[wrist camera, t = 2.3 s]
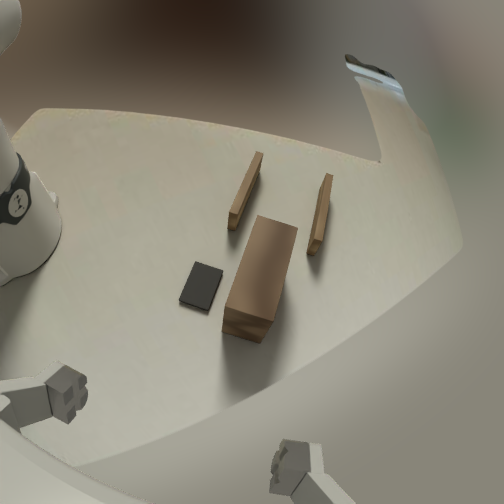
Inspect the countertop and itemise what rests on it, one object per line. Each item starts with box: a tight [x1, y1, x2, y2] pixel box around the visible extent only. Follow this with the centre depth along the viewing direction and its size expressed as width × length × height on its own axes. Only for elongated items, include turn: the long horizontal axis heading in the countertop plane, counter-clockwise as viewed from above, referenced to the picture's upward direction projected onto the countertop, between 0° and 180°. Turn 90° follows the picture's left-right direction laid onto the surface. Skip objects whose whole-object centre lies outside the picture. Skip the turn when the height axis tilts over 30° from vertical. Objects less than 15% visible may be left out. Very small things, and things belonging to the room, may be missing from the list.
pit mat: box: [179, 261, 223, 311], centre depth 40 cm, size 4×6×1 cm, turn 164°
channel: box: [227, 151, 333, 256], centre depth 47 cm, size 13×14×4 cm
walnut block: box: [222, 215, 298, 343], centre depth 37 cm, size 5×12×9 cm, turn 164°
